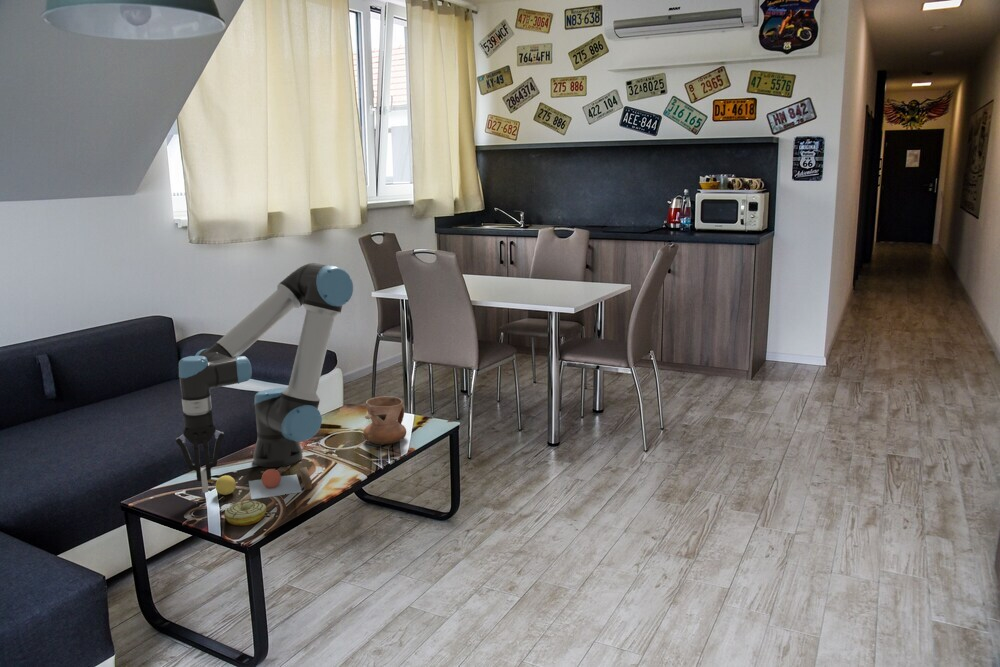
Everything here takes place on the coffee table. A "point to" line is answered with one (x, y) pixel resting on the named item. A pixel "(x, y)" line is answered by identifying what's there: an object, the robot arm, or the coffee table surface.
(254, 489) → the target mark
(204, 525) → the coffee table surface
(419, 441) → the coffee table surface
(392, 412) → the ceramic jug
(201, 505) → the coffee table surface
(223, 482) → the yellow ball
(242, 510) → the decorated donut
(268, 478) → the object ball
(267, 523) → the coffee table surface
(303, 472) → the stopper strip
